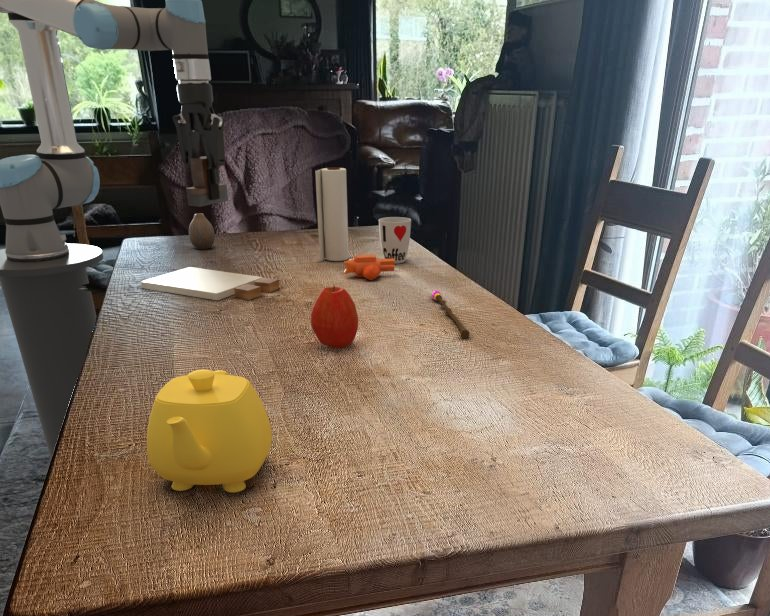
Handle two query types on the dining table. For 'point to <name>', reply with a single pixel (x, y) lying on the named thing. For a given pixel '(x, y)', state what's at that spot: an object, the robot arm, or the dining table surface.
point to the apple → (334, 318)
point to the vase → (201, 232)
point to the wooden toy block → (202, 185)
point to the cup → (395, 237)
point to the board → (199, 283)
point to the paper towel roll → (332, 213)
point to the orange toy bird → (368, 266)
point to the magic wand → (450, 313)
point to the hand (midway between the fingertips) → (207, 198)
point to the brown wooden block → (247, 291)
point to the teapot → (208, 431)
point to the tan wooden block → (267, 284)
